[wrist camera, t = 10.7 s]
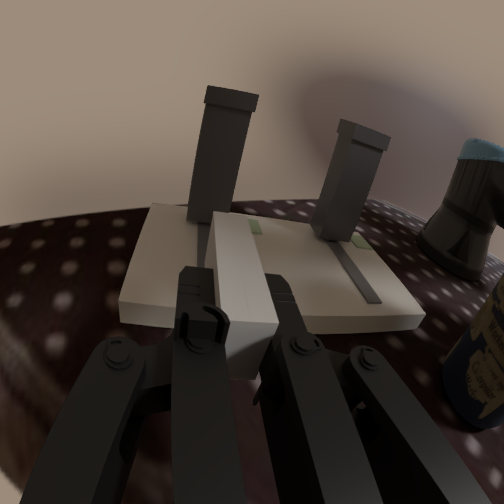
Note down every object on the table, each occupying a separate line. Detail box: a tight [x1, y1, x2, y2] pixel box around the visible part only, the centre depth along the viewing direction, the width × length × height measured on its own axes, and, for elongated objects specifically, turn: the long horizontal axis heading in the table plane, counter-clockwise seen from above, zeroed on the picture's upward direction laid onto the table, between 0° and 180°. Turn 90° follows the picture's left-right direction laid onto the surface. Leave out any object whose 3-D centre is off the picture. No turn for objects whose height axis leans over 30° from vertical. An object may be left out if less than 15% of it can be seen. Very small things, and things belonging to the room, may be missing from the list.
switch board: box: [118, 203, 426, 334], centre depth 27 cm, size 26×16×2 cm, turn 99°
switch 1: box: [186, 85, 259, 223], centre depth 26 cm, size 4×4×13 cm
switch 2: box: [310, 119, 391, 243], centre depth 29 cm, size 4×4×13 cm
